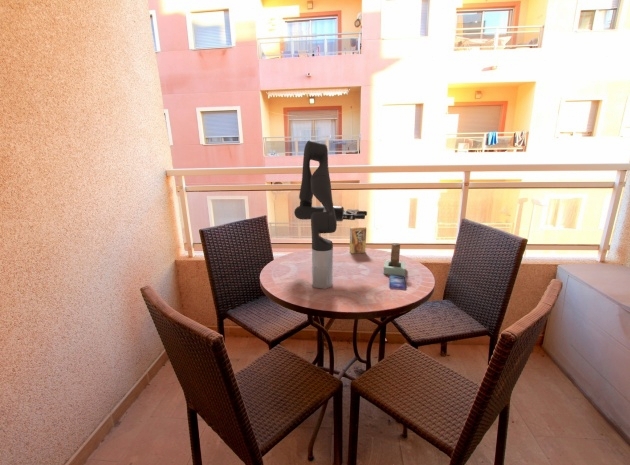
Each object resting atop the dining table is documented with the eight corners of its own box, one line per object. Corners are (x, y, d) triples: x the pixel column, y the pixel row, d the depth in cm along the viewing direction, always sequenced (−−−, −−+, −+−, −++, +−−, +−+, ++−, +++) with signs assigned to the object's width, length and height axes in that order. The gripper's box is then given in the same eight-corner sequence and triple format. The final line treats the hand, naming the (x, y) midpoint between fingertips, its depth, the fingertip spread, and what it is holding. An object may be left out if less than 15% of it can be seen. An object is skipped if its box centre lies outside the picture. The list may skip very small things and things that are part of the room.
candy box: (363, 250, 179) (363, 226, 175) (365, 252, 175) (366, 227, 171) (349, 251, 177) (349, 227, 173) (351, 253, 173) (352, 228, 169)
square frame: (404, 276, 140) (405, 269, 140) (383, 273, 143) (383, 267, 142) (404, 268, 150) (405, 262, 149) (384, 266, 152) (384, 260, 152)
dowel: (398, 273, 144) (400, 246, 140) (389, 272, 145) (391, 245, 142) (398, 270, 148) (400, 243, 144) (390, 269, 149) (391, 243, 145)
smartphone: (405, 275, 140) (406, 289, 126) (404, 277, 140) (406, 291, 126) (389, 274, 141) (389, 287, 127) (389, 275, 142) (389, 289, 128)
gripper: (330, 208, 140) (364, 210, 136) (336, 204, 153) (367, 205, 149) (330, 223, 142) (363, 225, 138) (336, 217, 155) (367, 219, 151)
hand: (365, 215), depth 143 cm, fingers open, 8 cm apart
